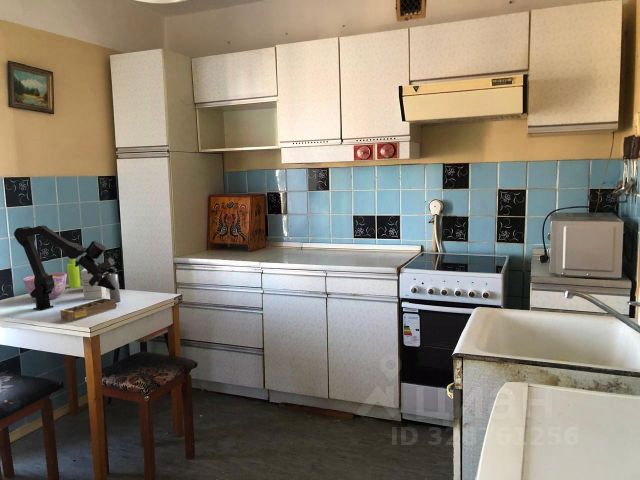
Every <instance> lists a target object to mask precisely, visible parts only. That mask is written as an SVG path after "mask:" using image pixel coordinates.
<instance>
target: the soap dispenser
mask: <svg viewBox="0 0 640 480" xmlns="http://www.w3.org/2000/svg"><path fill="white" fill-rule="evenodd" d="M75 261H77V260H76V259H70V258H69V257H68V263H67V264H66V268H67V271H66V272H67V277H68V287H69V289H77V288H80V287H82V283H81V279H80V277H81V276H80V275H81V272H80V267H79V266H77V267H75Z"/></svg>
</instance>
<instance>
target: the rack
mask: <svg viewBox="0 0 640 480" xmlns="http://www.w3.org/2000/svg"><path fill="white" fill-rule="evenodd" d="M115 309H117V303H116V301H115V300H113V299H110V298H102V299H96V300H94V301H90V302H87V303H83V304H79V305H75V306H73V307H69V308H66V309H59V313H60V320H61V321H66V322H76V321H79V320H82V319H85V318H88V317H92V316H95V315H98V314H101V313H105V312H108V311H112V310H115Z"/></svg>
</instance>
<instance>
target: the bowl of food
mask: <svg viewBox="0 0 640 480" xmlns="http://www.w3.org/2000/svg"><path fill="white" fill-rule="evenodd" d="M46 273H47V274H48V275H52V276H53V280H54V281H55V283H54V284H55V286H54V288H53V289H52V293H50V294H49V299H50V301H51V300H54V299H56V298H58V297H59V296H60V295H61V294H63V293H64V291H65V289H66V285H67V284H66V283H67V277H68V273H66V272H46ZM34 277H35V276H34V274H33V275H30V276H29V275H28V276H26V277H24V278H23V279H22V281H23V284H24V285H25V288H26V291H27V293H28V295H29V296H30V297H31V295H30V293H31V292H32V291H33V290H34V289H35V286H34Z"/></svg>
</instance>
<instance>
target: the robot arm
mask: <svg viewBox="0 0 640 480" xmlns="http://www.w3.org/2000/svg"><path fill="white" fill-rule="evenodd" d="M36 235H39V236H41V237H43V238H44V239H45V240H47V241H49V243H51V244H53V245H55V246H56V247H57V248H59V249H61V251H62V252H63V254H64V255H65V256H66V257H67V258H68V259H69V258H70V259H75V260H76V259H77V260H76V261H75V267H77V266H81V267H82V268H83V269H86V270H87V271H88V272H87V273H88V274H92V275H93V277H92V278H91V279H90V280H89V284H90V285H91V286H95V285H96V284H95V283H96V282H97V283H98V284H97V286H101V287H105V288H106V289H108V290H109V289H112V290H115V289H116V288H115V287H114V286H113V285H112V284H111V282H110V281H109V280H108V275H110V274H116V272H117V271H118V269H117V268H116V267H115V266H114V265H116V264H115V259H114V258H111V257H108V258H106V259H105V261H103V262H100V261H98V262H97V261H96V260H98V259H99V258H100V257H101V255H103V253H104V252H105V251H106V249H107V248H106V246H105V245H103V244H102V243H100V242H98V241H96V240H93V241H91V242H90V244H89V245H88V246H87V247H83V246H82V245H80V244H79V243H75V242H72V241H69V240H67V239H65V237H63V236H61V235H59V234H58V233H56V232H55V231H54V230H52V229H51V228H50V227H48V226H47V225H45V224H41V225H37V226H35V227H32V226H31V227H30V226H28V225H27V226H22V227H17V228H15V230H14V232H13V236H14V238H15V240H16V241H17V243H18V244H19V245H20V246H21V247H23V250H24V253H25V255H26V258H27V260H28V263H29V265H30V268H31V271H32V273H33V275H34V276H35V277H34V286H35V289H34V290H33V291H32V292H31V293H30V295H31V296H30V295H29V296H30V297H31V298H32V299H34V300H35V307H33V309H32V310H37V311H43V310H46V309H51V308H54V305H51V300H50V299H49V294H50V293H52V289H53V288H54V286H55V284H54V283H55V281H54V280H53V276H52V275H48V274H47V273H48V272H46V269H45V267H44V264H43V262H42V259H41V257H40V255H39V252H38V250H37V247H36V244H35V243H36ZM84 254H85V255H84ZM78 258H79V259H78ZM95 259H96V260H95ZM120 287H121V285H120V284H119V288H120Z"/></svg>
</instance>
